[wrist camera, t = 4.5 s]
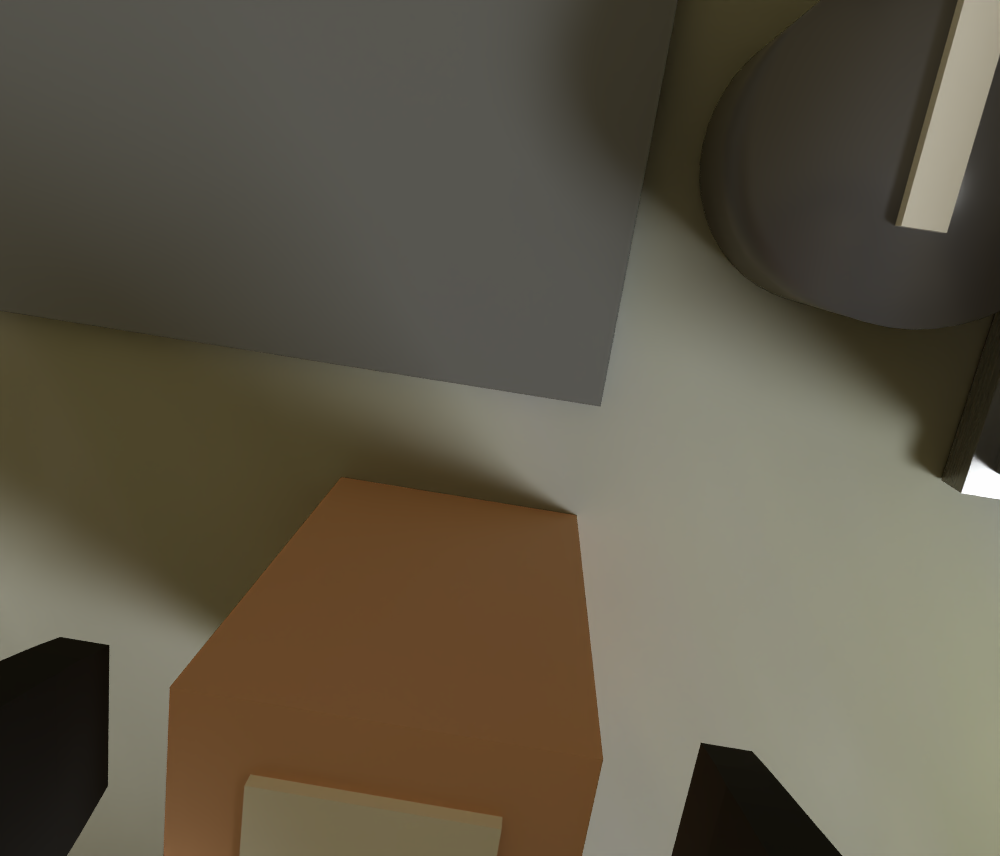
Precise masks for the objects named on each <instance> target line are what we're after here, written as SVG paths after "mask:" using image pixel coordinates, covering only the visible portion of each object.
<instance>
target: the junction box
mask: <svg viewBox="0 0 1000 856" xmlns="http://www.w3.org/2000/svg"><path fill="white" fill-rule="evenodd" d="M941 480H942V481H943V482H945V483H946V484H948V485H950V486H951V487H953V488H954V489H956V490H957V491H959V492H961V493H965V494H971V495H977V496H983V497H990V498H996V499H1000V311H999V312H996V313H995V316H994V319H993V322H992V325H991V328H990V331H989V334H988V337H987V340H986V343H985V347H984V350H983V353H982V356H981V359H980V362H979V365H978V368H977V371H976V374H975V377H974V381H973V384H972V387H971V390H970V393H969V396H968V399H967V402H966V405H965V408H964V411H963V415H962V418H961V421H960V424H959V427H958V430H957V433H956V436H955V439H954V442H953V445H952V449H951V452H950V455H949V458H948V461H947V464H946V467H945V470H944V473H943V476H942V479H941Z"/></svg>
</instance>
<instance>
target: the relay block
mask: <svg viewBox="0 0 1000 856" xmlns="http://www.w3.org/2000/svg"><path fill="white" fill-rule="evenodd" d="M602 762H603V755H602V745H601V736H600V727H599V718H598V708H597V699H596V690H595V681H594V671H593V662H592V653H591V644H590V635H589V625H588V616H587V607H586V598H585V588H584V579H583V570H582V561H581V551H580V542H579V533H578V524H577V515H572V514H566V513H560V512H554V511H548V510H541V509H535V508H529V507H523V506H517V505H511V504H504V503H498V502H492V501H486V500H480V499H474V498H467V497H461V496H455V495H449V494H443V493H437V492H430V491H424V490H418V489H412V488H406V487H400V486H393V485H387V484H381V483H375V482H369V481H363V480H357V479H350V478H344V477H341V478H340V479H339V480H338V482H337V483H336V484H335V485H334V486H333V488H332V489H331V490H330V491H329V493H328V494H327V495H326V496H325V497H324V499H323V500H322V501H321V502H320V504H319V505H318V506H317V507H316V509H315V510H314V511H313V512H312V513H311V515H310V516H309V517H308V518H307V520H306V521H305V522H304V523H303V524H302V526H301V527H300V528H299V529H298V531H297V532H296V533H295V534H294V535H293V537H292V538H291V539H290V540H289V542H288V543H287V544H286V545H285V547H284V548H283V549H282V550H281V551H280V553H279V554H278V555H277V556H276V558H275V559H274V560H273V561H272V562H271V564H270V565H269V566H268V567H267V569H266V570H265V571H264V572H263V573H262V575H261V576H260V577H259V578H258V580H257V581H256V582H255V583H254V585H253V586H252V587H251V588H250V589H249V591H248V592H247V593H246V594H245V596H244V597H243V598H242V599H241V600H240V602H239V603H238V604H237V605H236V607H235V608H234V609H233V610H232V611H231V613H230V614H229V615H228V616H227V618H226V619H225V620H224V621H223V623H222V624H221V625H220V626H219V627H218V629H217V630H216V631H215V632H214V634H213V635H212V636H211V637H210V638H209V640H208V641H207V642H206V643H205V645H204V646H203V647H202V648H201V649H200V651H199V652H198V653H197V654H196V656H195V657H194V658H193V659H192V661H191V662H190V663H189V664H188V665H187V667H186V668H185V669H184V670H183V672H182V673H181V674H180V675H179V676H178V678H177V679H176V680H175V681H174V683H173V684H172V685H171V686H170V698H169V725H168V751H167V777H166V804H165V830H164V856H582V853H583V848H584V844H585V839H586V835H587V830H588V826H589V821H590V816H591V812H592V807H593V803H594V798H595V794H596V789H597V785H598V780H599V776H600V771H601V767H602Z"/></svg>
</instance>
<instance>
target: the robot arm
mask: <svg viewBox="0 0 1000 856" xmlns="http://www.w3.org/2000/svg"><path fill="white" fill-rule="evenodd" d="M108 723H109V645H105V644H99V643H93V642H87V641H81V640H75V639H69V638H63V637H59V638H56V639H54V640H51V641H48V642H45V643H43V644H40V645H37V646H35V647H32V648H30V649H28V650H25V651H23V652H20V653H18V654H16V655H13V656H11V657H9V658H6V659H4V660H2V661H0V856H67V854H68V853H69V851H70V850H71V848H72V846H73V845H74V843H75V841H76V840H77V838H78V836H79V835H80V833H81V832H82V830H83V828H84V826H85V825H86V823H87V821H88V819H89V818H90V816H91V814H92V813H93V811H94V809H95V807H96V806H97V804H98V802H99V800H100V799H101V797H102V795H103V793H104V792H105V790H106V788H107V786H108ZM672 856H842V855H841V854H840V853H839V851H838V850H837V849H836V848H835V847H834V846H833V845H832V843H831V842H830V841H829V840H828V839H827V838H826V836H825V835H824V834H823V833H822V832H821V830H820V829H819V828H818V827H817V826H816V825H815V823H814V822H813V821H812V820H811V819H810V818H809V816H808V815H807V814H806V813H805V812H804V811H803V809H802V808H801V807H800V806H799V805H798V804H797V802H796V801H795V800H794V799H793V798H792V796H791V795H790V794H789V793H788V792H787V791H786V789H785V788H784V787H783V786H782V785H781V784H780V782H779V781H778V780H777V779H776V778H775V777H774V775H773V774H772V773H771V772H770V771H769V770H768V769H767V767H766V766H765V765H764V764H763V763H762V762H761V761H760V760H759V758H758V757H757V756H756V755H755V754H754V753H753V752H752V751H747V750H741V749H735V748H729V747H723V746H716V745H710V744H704V743H701V745H700V749H699V753H698V757H697V760H696V764H695V768H694V772H693V776H692V779H691V783H690V787H689V791H688V795H687V799H686V802H685V806H684V810H683V814H682V818H681V822H680V825H679V829H678V833H677V837H676V841H675V844H674V848H673V852H672Z"/></svg>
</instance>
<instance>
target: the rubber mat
mask: <svg viewBox="0 0 1000 856" xmlns="http://www.w3.org/2000/svg"><path fill="white" fill-rule="evenodd" d="M677 3H678V0H0V311H6V312H12V313H18V314H25V315H31V316H37V317H43V318H50V319H56V320H62V321H69V322H75V323H81V324H87V325H94V326H100V327H106V328H112V329H119V330H125V331H131V332H137V333H144V334H150V335H156V336H162V337H169V338H175V339H181V340H188V341H194V342H200V343H206V344H213V345H219V346H225V347H231V348H238V349H244V350H250V351H256V352H263V353H269V354H275V355H281V356H288V357H294V358H300V359H307V360H313V361H319V362H325V363H332V364H338V365H344V366H350V367H357V368H363V369H369V370H375V371H382V372H388V373H394V374H401V375H407V376H413V377H419V378H426V379H432V380H438V381H444V382H451V383H457V384H463V385H469V386H476V387H482V388H488V389H494V390H501V391H507V392H513V393H520V394H526V395H532V396H538V397H545V398H551V399H557V400H563V401H570V402H576V403H582V404H588V405H595V406H601V401H602V396H603V390H604V385H605V380H606V375H607V369H608V364H609V359H610V354H611V348H612V343H613V338H614V333H615V327H616V322H617V317H618V312H619V306H620V301H621V296H622V291H623V286H624V280H625V275H626V270H627V265H628V259H629V254H630V249H631V244H632V238H633V233H634V228H635V223H636V217H637V212H638V207H639V202H640V196H641V191H642V186H643V181H644V176H645V170H646V165H647V160H648V155H649V149H650V144H651V139H652V134H653V128H654V123H655V118H656V113H657V107H658V102H659V97H660V92H661V86H662V81H663V76H664V71H665V65H666V60H667V55H668V50H669V45H670V39H671V34H672V29H673V24H674V18H675V13H676V8H677Z"/></svg>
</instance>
